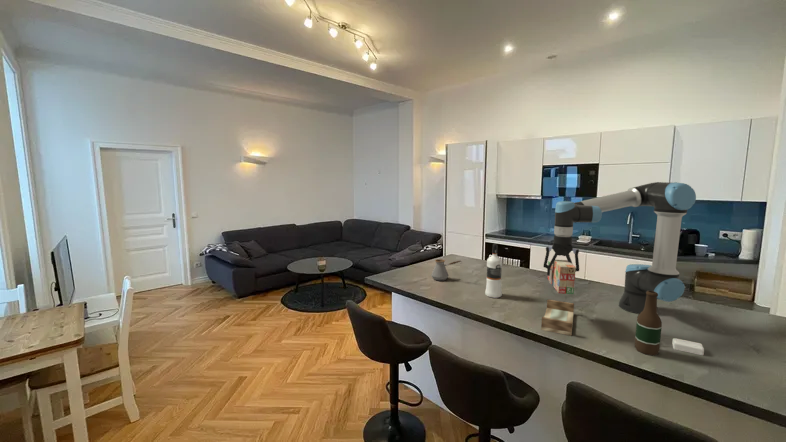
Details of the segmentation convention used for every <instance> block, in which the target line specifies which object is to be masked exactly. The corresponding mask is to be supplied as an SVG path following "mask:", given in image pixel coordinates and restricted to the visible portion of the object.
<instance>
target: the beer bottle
mask: <svg viewBox="0 0 786 442" xmlns="http://www.w3.org/2000/svg"><path fill="white" fill-rule="evenodd" d="M646 294H647V295H646V301H645V307H644V310H643V311H642V312H641V313H640V314H639V313H638V316H637V319H636V326H635V337H634V348H635V350H636V351H637V352H639V353H641V354H644V355H648V356H653V355H654V356H656V355H658V354H659V353H660V347H661V336H662V328H663V325H662V324H663V322H662V319H661V317H660V315H659V314H658V305H657V304H658V299H657V296H658V293H657V292H654V291H647V292H646Z"/></svg>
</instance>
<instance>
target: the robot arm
mask: <svg viewBox="0 0 786 442" xmlns="http://www.w3.org/2000/svg"><path fill="white" fill-rule="evenodd" d="M696 200H697V195H696V191H695V189H694V188H693V187H692V186H691V185H690V184H687V183H683V182H678V181H677V182H676V181H675V182H663V181H662V182H659V181H657V182H656V181H655V182H649V183H646V184H641V185H638V186H634V187H630V188H628V189H627V190H625V191H621V192H617V193H612V194H608V195H603V196H598V197H593V198H590V199H585V200H581V201H580V200H579V201H577V202H576V201H575V202H574V201H557V202H556V204H555V210H554V227H553V228H554V229H553V230H554V231H553V234H554V236H553V245H551V246H549V245H547V246H546V247H545V251H546V253H545V255H544V256H545V257H544V261H543V268H545V269H547V270H546V271H547V272H546V273H547V274H546V276H547V277H548V276H550V279H549V280H548V282H549V284H551V282H552V269H551V266H552V264H553V263H554V261H555V260H557V257H558V256H559V257H560V256H561V257H566V260H568V262H570V263H572V264H573V262H572V259H571V256H570V253H571V252H573V254H574V259H575V262H574V263H575V267H576V271H575V273H576V272H580V262H579V261H580V260H579V252H580V249H579V248H573V233H574V232H573V231H574V223H590V224H593V223H599V222H600V221H601V219H602V218H603V216H602V215H603V213H604V212H605V213H606V212H609V211H610V212H611V211H613V210H614V211H615V210H619V209H623V208H628V207H633V208H637V207H653V208H654V209H653V213H655V214H656V216H657V219H656V226H655V228H656V229H655V235H654V244H653V252H652V253H653V255H652V264H651V265H650V264H642V263H641V264H639V263H635V264H634V263H633V264H631V263H630V264H627V266H626V268H625V271H624V273H625V274H624V275H625V276H624V289H623V293H622V295H621V297H620V299H619V300H618V301H619V302H618V306H619V307H620V308H621V309H622V310H623V311H624V310H625V311H626V312H630V313H635V314H638V315H639V314H640V313H641V312H642V311H643V310H644V307H645V301H646V295H647V294H646V292H647V291H654V292H657V293H658V296H657V300H659V301H662V302H663V301H664V302H667V303H669V302H670V303H671V302H674V301H677V300H678V299H679V298H681V297H682V295H683V294H685V293H684V292H685V289H686V286H685V284H684V282H683V281H682V280H681V279H680V272H679V270H678V269H677V261H678V252H679V243H680V236H681V226H682V219H683V216H685V215H687V213H688V210H689V209H691V208H692V207H693V206H694V204H695V203H696ZM552 250H553V252H554V254H553V256H552V258H551V260H550V261H551V262H550V264H549V266H548V261H549V256H550V253H551V251H552Z"/></svg>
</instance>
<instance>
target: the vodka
mask: <svg viewBox="0 0 786 442" xmlns="http://www.w3.org/2000/svg"><path fill="white" fill-rule="evenodd" d="M491 252H492V255H491V256H489V257H487V259H486V284H485V285H486V286H485V291H484V294H485V296H487V297H488V298H493V299H497V298H501V297H502V296H503V291H502V279H503V278H502V268H503V260H502V258H500V257H499V256H498V244H494V243H493V244H492V251H491Z"/></svg>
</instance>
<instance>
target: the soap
mask: <svg viewBox="0 0 786 442" xmlns="http://www.w3.org/2000/svg"><path fill="white" fill-rule="evenodd" d="M671 342H672V344H671V345H672V348H673V350H675V351H676V350H677V351H682V352H684V353H685V352H686V353H691V354H695V355H700V356H704V353H705V348H704V346H703V344H702V343H700V342H695V341H692V340H691V341H690V340H685V339H681V338H676V337H675V338H672V341H671Z"/></svg>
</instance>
